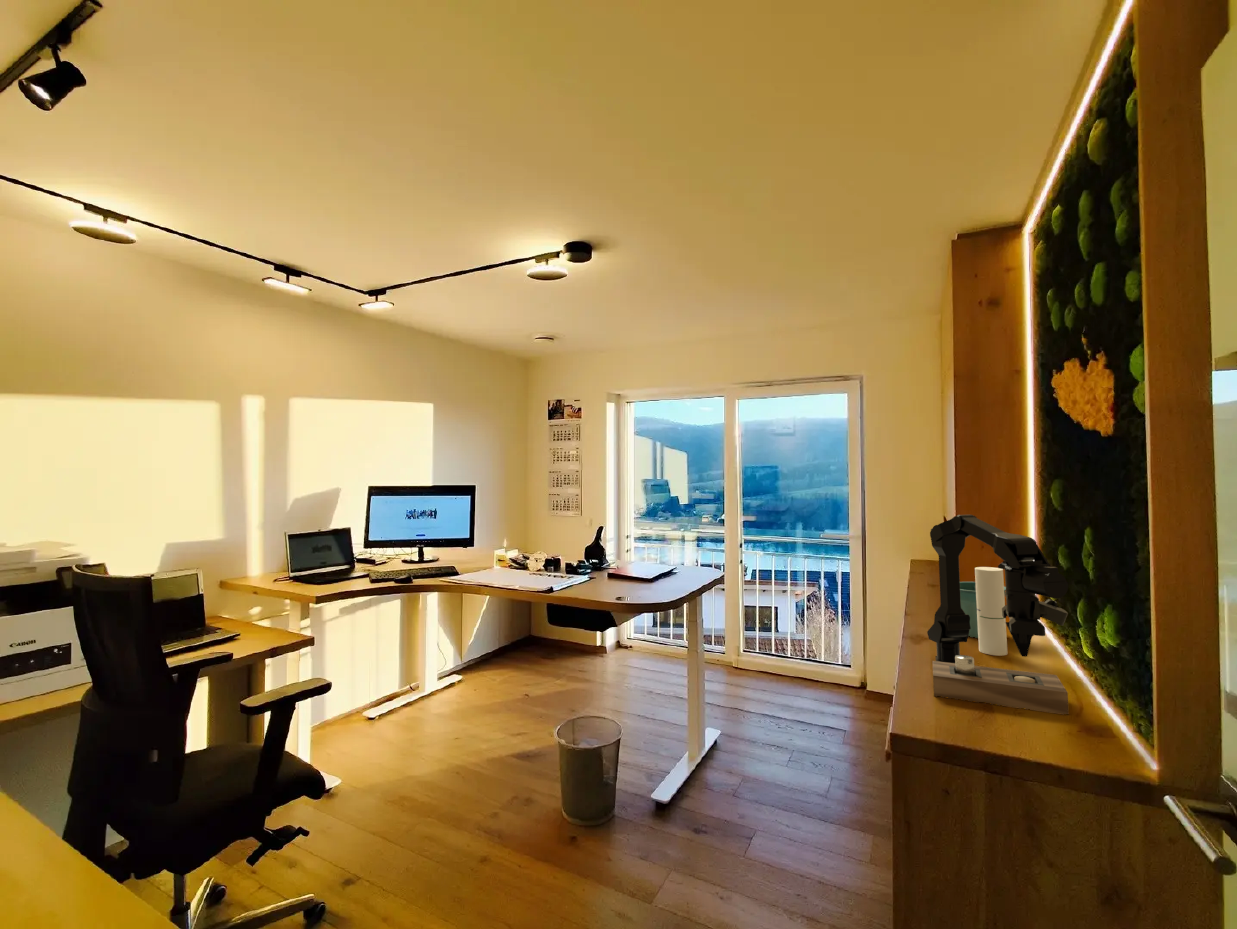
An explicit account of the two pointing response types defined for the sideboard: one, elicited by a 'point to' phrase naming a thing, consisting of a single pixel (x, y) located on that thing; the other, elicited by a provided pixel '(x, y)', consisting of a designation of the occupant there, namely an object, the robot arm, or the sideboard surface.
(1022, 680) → the beech peg
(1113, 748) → the sideboard surface
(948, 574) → the robot arm
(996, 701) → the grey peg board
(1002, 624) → the cylindrical container
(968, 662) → the metal peg
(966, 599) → the flower pot
